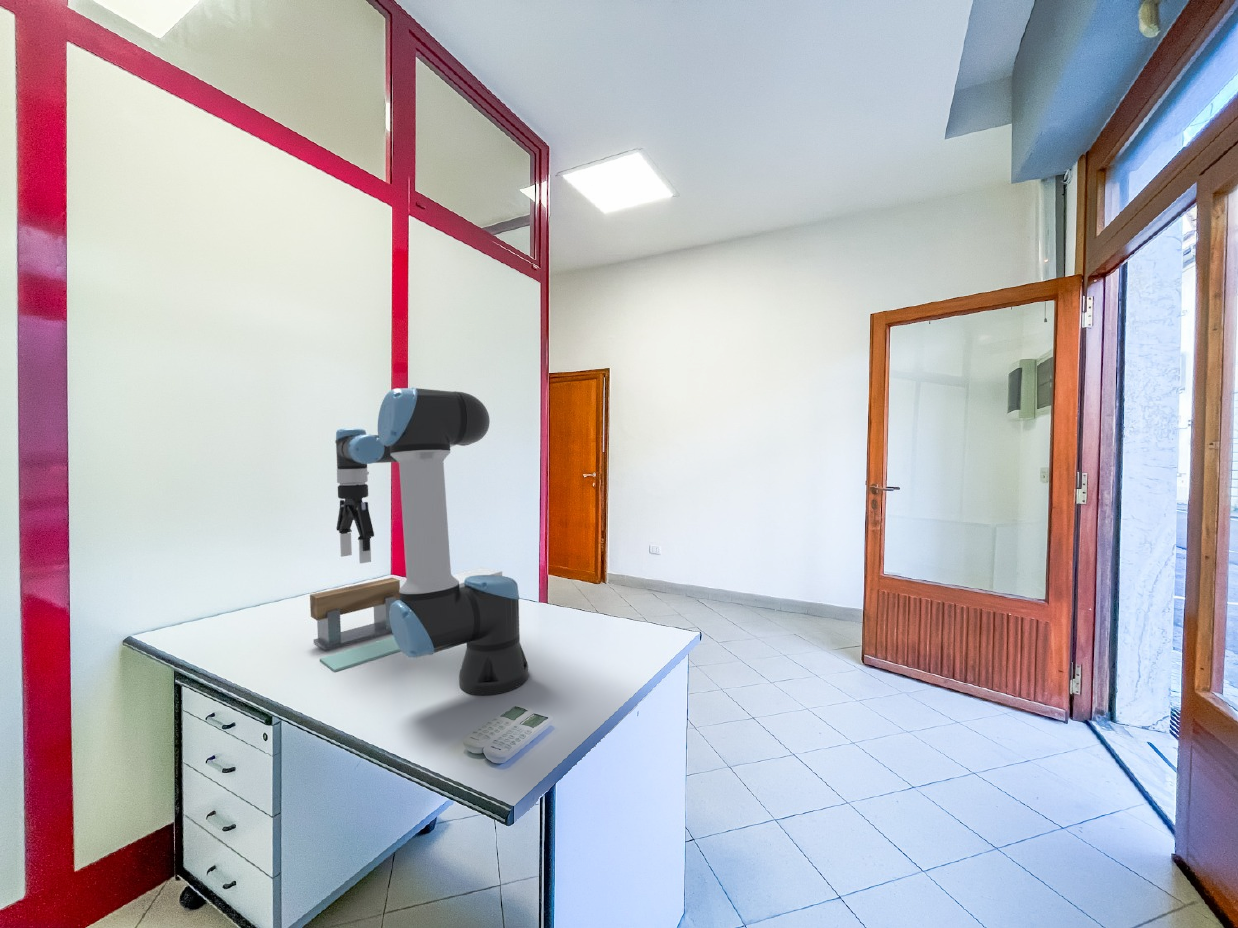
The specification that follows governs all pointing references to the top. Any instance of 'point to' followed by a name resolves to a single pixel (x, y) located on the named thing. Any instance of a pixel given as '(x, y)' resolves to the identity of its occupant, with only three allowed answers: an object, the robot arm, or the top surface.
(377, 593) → the rail
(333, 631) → the standards
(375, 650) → the mat
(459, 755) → the top surface
